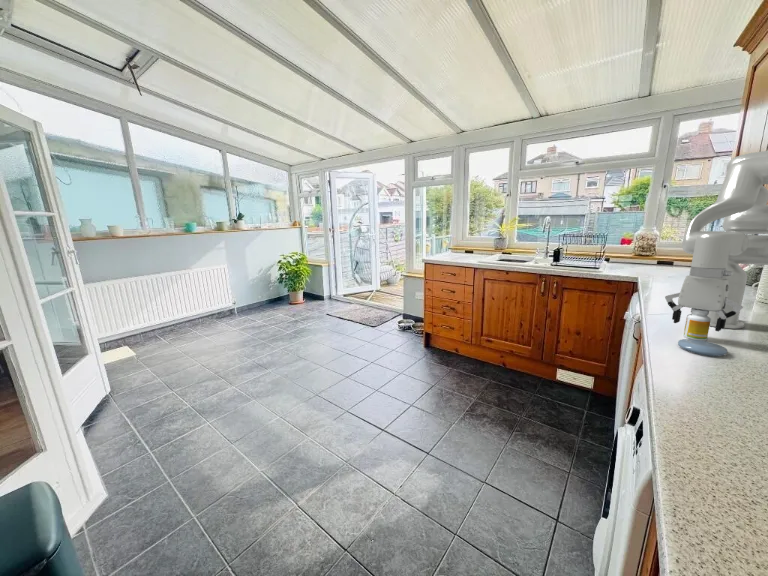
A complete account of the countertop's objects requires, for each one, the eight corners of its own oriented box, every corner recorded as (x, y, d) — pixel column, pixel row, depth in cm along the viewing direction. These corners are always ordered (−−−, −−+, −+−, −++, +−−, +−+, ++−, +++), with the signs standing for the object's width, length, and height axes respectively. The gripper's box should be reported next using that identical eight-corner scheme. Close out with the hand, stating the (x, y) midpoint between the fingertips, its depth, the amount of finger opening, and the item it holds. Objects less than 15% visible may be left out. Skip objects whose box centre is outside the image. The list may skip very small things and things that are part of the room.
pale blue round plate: (684, 341, 97) (684, 336, 96) (730, 351, 88) (731, 346, 88) (672, 348, 92) (673, 344, 91) (720, 360, 83) (721, 355, 83)
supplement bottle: (711, 341, 96) (717, 311, 94) (691, 340, 97) (696, 311, 95) (698, 335, 101) (703, 307, 99) (679, 334, 102) (684, 306, 100)
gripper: (752, 275, 89) (739, 331, 92) (674, 269, 103) (665, 317, 107) (746, 278, 85) (733, 336, 89) (665, 271, 100) (657, 321, 103)
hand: (696, 326), depth 98 cm, fingers open, 9 cm apart
